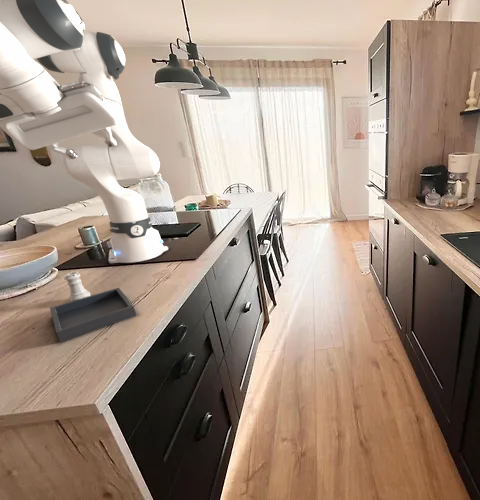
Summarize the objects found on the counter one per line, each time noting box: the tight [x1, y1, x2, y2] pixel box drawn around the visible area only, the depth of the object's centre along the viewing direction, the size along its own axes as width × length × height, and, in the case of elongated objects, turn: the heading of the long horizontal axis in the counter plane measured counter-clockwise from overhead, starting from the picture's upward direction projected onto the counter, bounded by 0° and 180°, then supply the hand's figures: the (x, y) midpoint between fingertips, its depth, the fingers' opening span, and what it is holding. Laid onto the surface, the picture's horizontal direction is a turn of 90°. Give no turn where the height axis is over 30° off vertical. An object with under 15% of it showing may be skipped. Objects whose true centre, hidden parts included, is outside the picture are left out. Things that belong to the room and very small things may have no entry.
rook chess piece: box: [64, 271, 93, 302], centre depth 76 cm, size 4×4×8 cm
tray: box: [49, 287, 137, 343], centre depth 70 cm, size 15×14×3 cm
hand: (94, 151), depth 69 cm, fingers open, 8 cm apart
